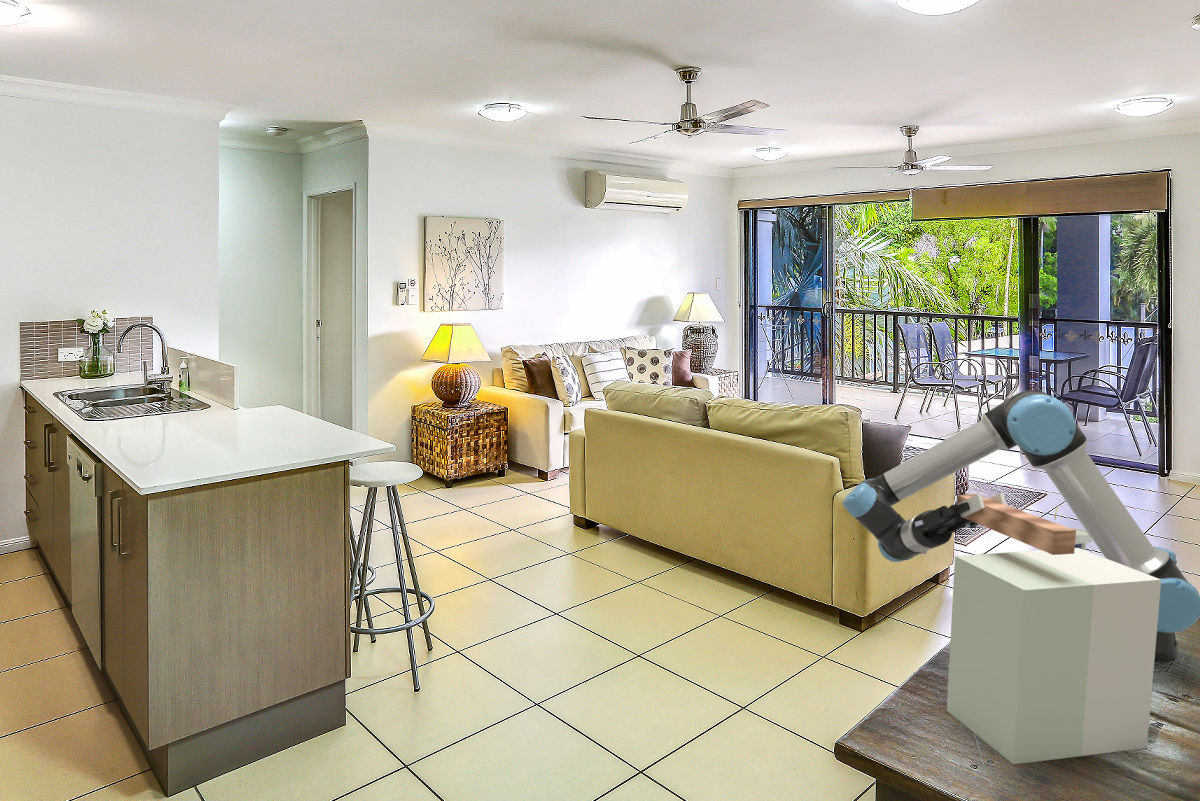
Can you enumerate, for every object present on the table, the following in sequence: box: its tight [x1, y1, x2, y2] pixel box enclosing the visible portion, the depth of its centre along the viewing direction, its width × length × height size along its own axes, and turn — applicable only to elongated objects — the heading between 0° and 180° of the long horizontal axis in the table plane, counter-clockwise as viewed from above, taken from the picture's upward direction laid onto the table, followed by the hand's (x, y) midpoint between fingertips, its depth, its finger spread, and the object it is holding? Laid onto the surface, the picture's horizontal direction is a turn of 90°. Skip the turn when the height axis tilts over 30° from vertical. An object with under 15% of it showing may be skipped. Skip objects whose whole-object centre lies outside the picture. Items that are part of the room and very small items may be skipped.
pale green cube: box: [946, 548, 1161, 765], centre depth 141 cm, size 18×26×30 cm
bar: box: [956, 493, 1076, 555], centre depth 145 cm, size 26×4×4 cm, turn 10°
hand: (992, 500), depth 150 cm, fingers closed on bar, 4 cm apart
